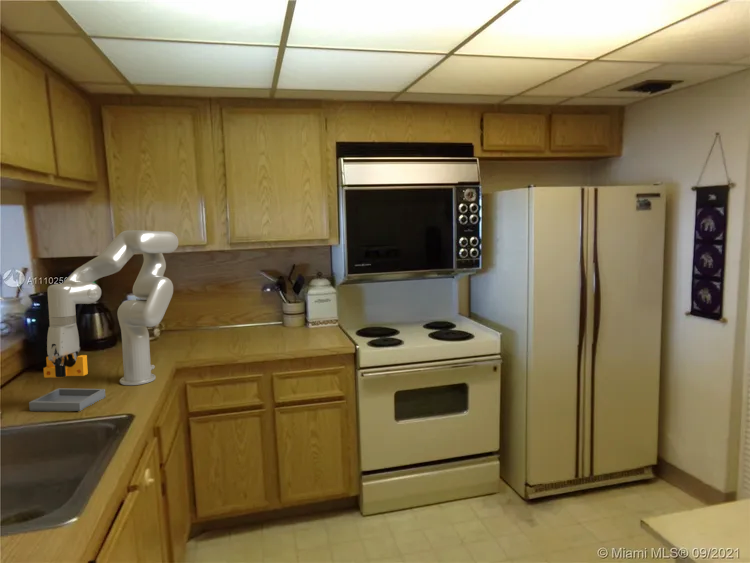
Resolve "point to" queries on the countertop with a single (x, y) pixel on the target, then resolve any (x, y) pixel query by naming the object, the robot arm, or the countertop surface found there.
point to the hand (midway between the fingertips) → (66, 373)
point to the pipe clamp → (68, 368)
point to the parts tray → (67, 399)
